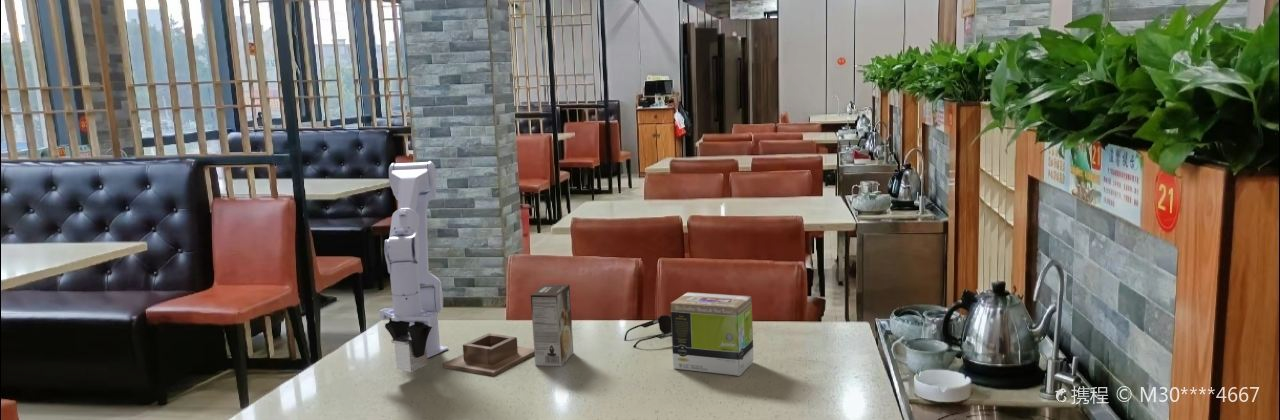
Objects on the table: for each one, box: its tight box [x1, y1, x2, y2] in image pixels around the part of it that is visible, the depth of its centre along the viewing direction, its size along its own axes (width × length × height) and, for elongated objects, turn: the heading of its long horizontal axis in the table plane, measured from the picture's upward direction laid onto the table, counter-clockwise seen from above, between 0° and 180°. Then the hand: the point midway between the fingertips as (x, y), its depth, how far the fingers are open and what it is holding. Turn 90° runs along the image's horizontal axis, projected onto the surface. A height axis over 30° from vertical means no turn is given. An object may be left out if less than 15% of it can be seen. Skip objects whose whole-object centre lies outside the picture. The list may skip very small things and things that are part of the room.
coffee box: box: [530, 284, 574, 367], centre depth 191 cm, size 9×6×16 cm
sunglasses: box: [623, 314, 672, 348], centre depth 203 cm, size 10×12×5 cm
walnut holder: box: [442, 332, 535, 377], centre depth 193 cm, size 14×16×4 cm
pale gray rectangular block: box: [391, 333, 429, 373], centre depth 183 cm, size 4×7×7 cm, turn 151°
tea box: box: [670, 291, 754, 377], centre depth 183 cm, size 15×10×15 cm
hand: (411, 354), depth 183 cm, fingers closed on pale gray rectangular block, 4 cm apart
